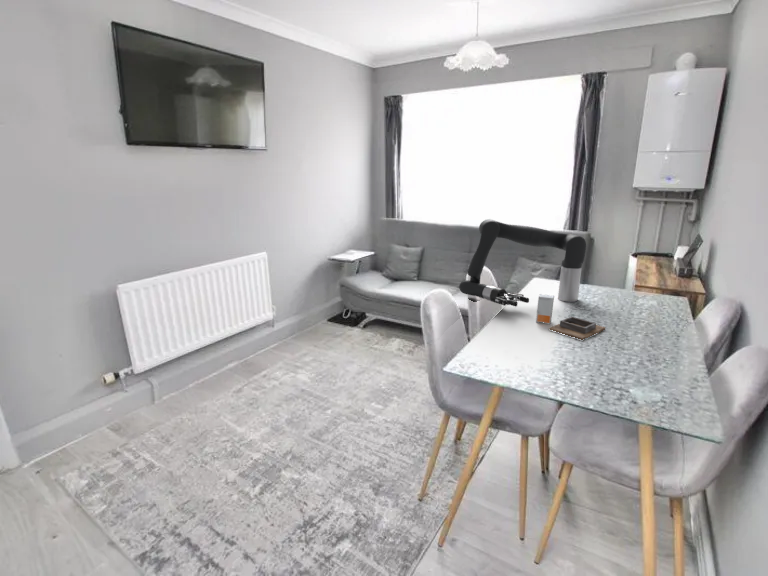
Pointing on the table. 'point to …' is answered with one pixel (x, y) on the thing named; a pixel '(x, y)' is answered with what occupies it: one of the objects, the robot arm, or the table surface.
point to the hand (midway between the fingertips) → (522, 302)
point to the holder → (577, 328)
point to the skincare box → (544, 308)
